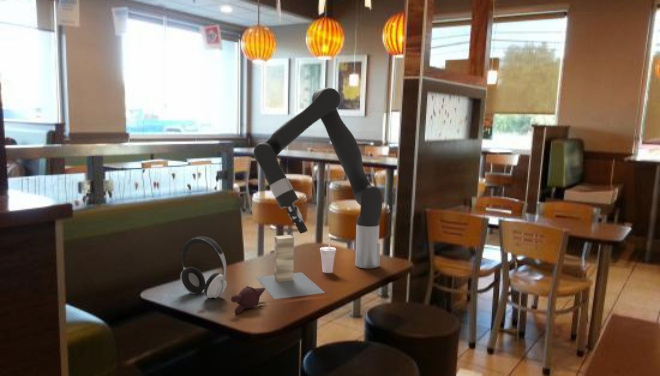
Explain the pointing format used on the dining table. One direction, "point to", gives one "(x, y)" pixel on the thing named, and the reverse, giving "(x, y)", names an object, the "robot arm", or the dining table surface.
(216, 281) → the headphones
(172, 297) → the dining table surface
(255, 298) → the maroon rounded piece
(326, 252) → the smoothie
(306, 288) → the mat
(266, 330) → the dining table surface
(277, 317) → the dining table surface
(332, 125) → the robot arm
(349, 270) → the dining table surface
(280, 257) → the birch block
